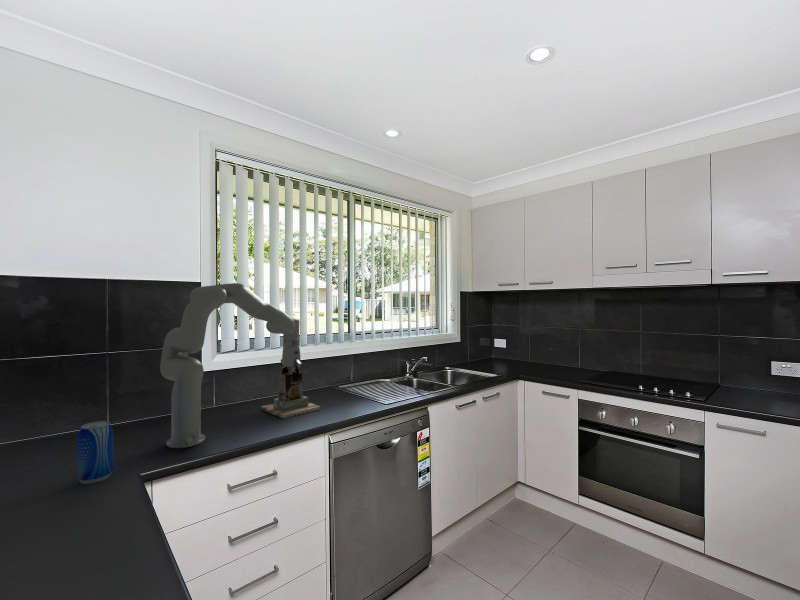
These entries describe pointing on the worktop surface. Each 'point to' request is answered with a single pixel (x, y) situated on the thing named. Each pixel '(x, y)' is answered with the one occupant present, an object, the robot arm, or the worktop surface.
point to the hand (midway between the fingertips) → (290, 378)
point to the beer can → (94, 452)
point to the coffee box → (290, 387)
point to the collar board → (290, 407)
